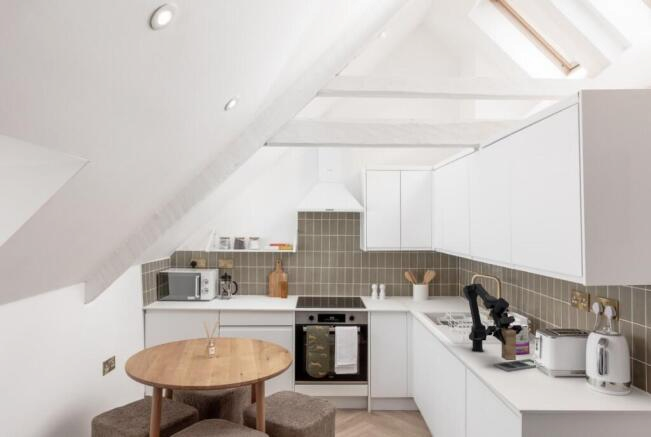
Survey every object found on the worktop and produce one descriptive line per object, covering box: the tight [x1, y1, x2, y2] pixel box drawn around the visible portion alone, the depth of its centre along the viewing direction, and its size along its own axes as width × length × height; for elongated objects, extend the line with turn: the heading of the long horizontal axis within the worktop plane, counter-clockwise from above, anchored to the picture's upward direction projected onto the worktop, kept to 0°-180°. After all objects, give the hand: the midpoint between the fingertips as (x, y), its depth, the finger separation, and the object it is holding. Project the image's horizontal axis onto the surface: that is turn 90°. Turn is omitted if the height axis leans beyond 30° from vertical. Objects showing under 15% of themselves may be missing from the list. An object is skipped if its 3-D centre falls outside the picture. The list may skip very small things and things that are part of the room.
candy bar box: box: [508, 323, 531, 356], centre depth 249 cm, size 11×5×16 cm, turn 105°
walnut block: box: [501, 329, 517, 361], centre depth 222 cm, size 5×5×15 cm
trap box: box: [493, 358, 536, 373], centre depth 225 cm, size 25×10×2 cm, turn 111°
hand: (510, 344), depth 221 cm, fingers closed on walnut block, 5 cm apart
